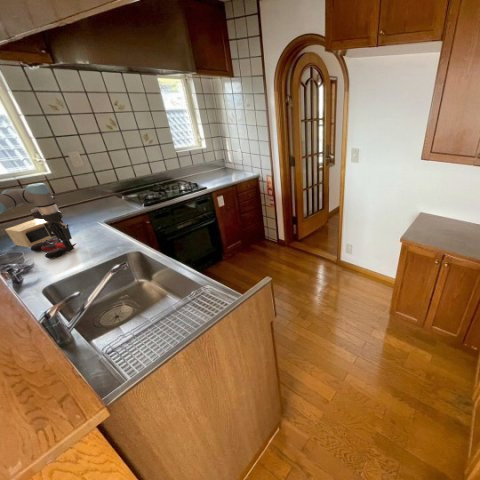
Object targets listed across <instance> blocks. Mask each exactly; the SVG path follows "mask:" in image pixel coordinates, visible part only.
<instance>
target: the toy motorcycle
mask: <svg viewBox="0 0 480 480" xmlns="http://www.w3.org/2000/svg"><path fill="white" fill-rule="evenodd" d="M77 244H78V242H75V243H73V244H72V246H73V247H75V246H76V245H77ZM30 250H31V251H32V252H41V251H43V252H46V253H45V254H44V257H45V258H46V259H55V258H54V257H56V258H58V256H59V257H61V256H63V255H64V254H65V253H66V251H67V249H66V247H65V245H64V244H63V242H62V241H61V240H60V239H59V240H58V239H57V238H55V239H54V238H53V239H49V240H47V241H44V242H40V243H37V244H35V245H33V246H32V247H30ZM62 254H63V255H62ZM60 255H61V256H60Z"/></svg>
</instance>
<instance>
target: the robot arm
mask: <svg viewBox="0 0 480 480" xmlns="http://www.w3.org/2000/svg"><path fill="white" fill-rule="evenodd" d="M52 196H53V195H52V193H51V190H50V189H49V188H48V186H47V184H45V183H42V182H39V183H32V184H28V185H26V186H25V188H10V189H5V190H2V192H1V193H0V215H1V214H4V213H5V212H7V211H10V210H12V209H15V208H17V207H20V206H22V205H26V204H34V205H35V206H36V207H37V208H38V210H39V212H40V214H42V217H43V219H44V221H46V222H49V223H48V224H46V225H47V226H48V227H49V228H50V229H51V231H52V232H53V233H54V235H55V236H56V237H55V238H56V239H58V240H60V242H63V244H64V245H65V247H66V249H67V250H66V251H67V252H71V251H73V250H75V248H74V247H75V246H72V245H73V244H72V242H71V240H72V239H73V236H72V234H71V231H70V227H69V226H70V225H69V224H67V223H66V224H65V223H64V221H63V220H62V219H63V217H64V216H63V214H62V212H61V211H60V208H59V207H58V204H57V203H56V201H55V199H53V197H52Z"/></svg>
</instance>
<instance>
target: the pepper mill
mask: <svg viewBox="0 0 480 480" xmlns="http://www.w3.org/2000/svg"><path fill="white" fill-rule="evenodd" d="M52 197H53V199H54V200H56V197H55V196H53V195H52ZM30 214H31V216H32V217H33V220H34V219H43V217H42V214H40V212H39V210H38V208H37V206H36V207H34V208H31V209H30ZM43 220H44V219H43Z"/></svg>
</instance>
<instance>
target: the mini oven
mask: <svg viewBox="0 0 480 480" xmlns="http://www.w3.org/2000/svg"><path fill="white" fill-rule="evenodd" d="M48 223H49V222H46V221H44V220H43V219H34V218H33V219H31V220H28V221H26V222H23V223H20V224H16V225H14V226H10V227H8V228H5V229H4V230H5V232H6V233H7V235H8V236H9V238H10V239H11V241H12V242H13V244H14V245H15V246H16V245H17V246H18V247H23V246H24V248H29V247H30V248H31V247H32V246H33V245H35V244H37V243H40V242H47V241H50V240H52V239H54V238H57V237H56V236H55V235H54V233H53V232H52V231H51V229H50V228H49V227H48V226H47V225H46V224H48ZM53 237H54V238H53ZM51 238H52V239H51ZM46 240H47V241H46Z"/></svg>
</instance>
